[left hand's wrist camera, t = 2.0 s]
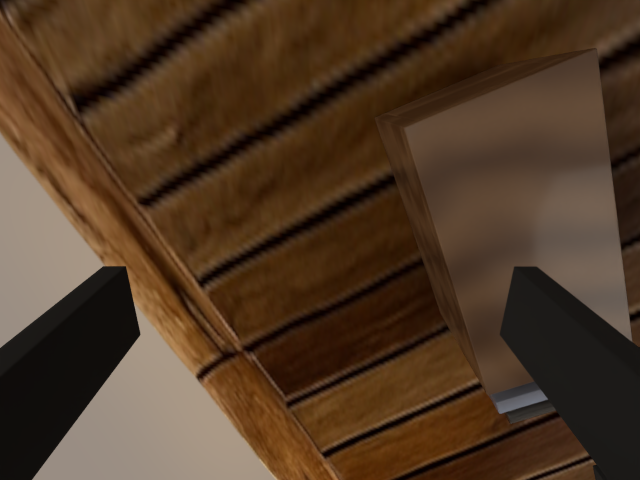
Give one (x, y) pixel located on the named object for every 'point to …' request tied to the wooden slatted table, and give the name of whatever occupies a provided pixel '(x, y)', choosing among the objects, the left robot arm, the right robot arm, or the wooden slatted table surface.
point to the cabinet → (510, 197)
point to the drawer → (522, 402)
